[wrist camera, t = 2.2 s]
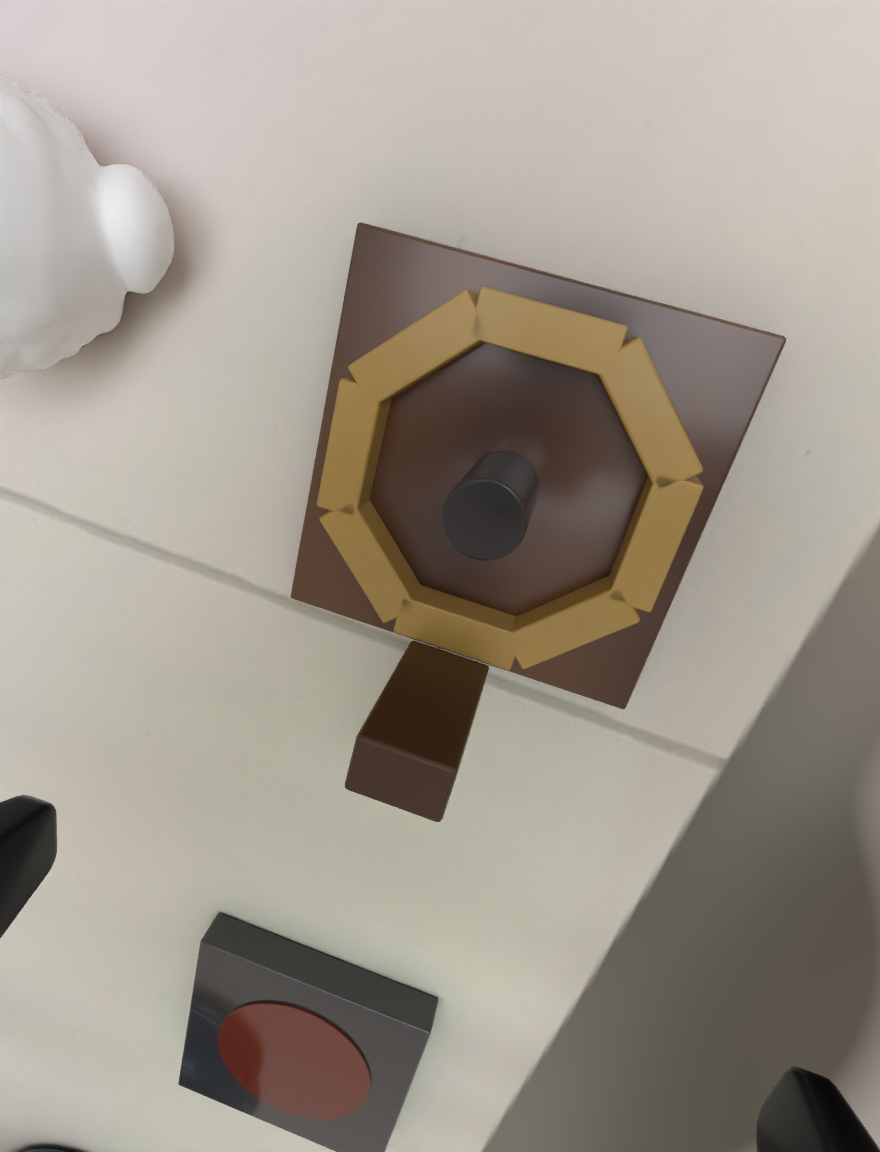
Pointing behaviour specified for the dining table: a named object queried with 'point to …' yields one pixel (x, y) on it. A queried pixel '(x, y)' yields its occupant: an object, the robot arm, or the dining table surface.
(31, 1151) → the canister
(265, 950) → the stove
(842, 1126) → the robot arm
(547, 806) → the dining table surface
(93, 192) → the rabbit
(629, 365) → the ring
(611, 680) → the brown peg base
